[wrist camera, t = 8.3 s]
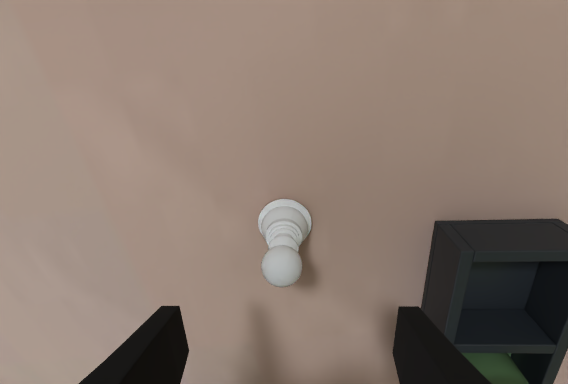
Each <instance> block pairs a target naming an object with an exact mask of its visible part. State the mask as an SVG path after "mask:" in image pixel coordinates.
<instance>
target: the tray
mask: <svg viewBox="0 0 568 384" xmlns="http://www.w3.org/2000/svg"><path fill="white" fill-rule="evenodd" d="M421 310H422V311H423V312H424V313H425V314H426V315H427V316H428V318H429V319H430V320H431V321H432V322H433V323H434V324H435V325H436V326H437V328H438V329H439V330H440V331H441V332H442V333H443V334H444V335H445V336H446V337H447V338H448V339H449V341H450V342H451V343H452V344H453V345H454V346H455V347H456V348H457V349H458V350H459V351H460V352H461V353H508V355H509V356H510V357H511V359H512V360H513V362H514V363H515V364H516V366H517V367H518V369H519V370H520V371H521V373H522V374H523V376H524V377H525V378H526V380H527V381H528V383H529V384H553V383H554V380H555V378H556V375H557V373H558V371H559V368H560V366H561V363H562V361H563V359H564V356H565V354H566V352H567V349H568V225H567V224H565V223H564V222H562V221H561V220H559V219H526V220H467V221H435V226H434V232H433V238H432V245H431V251H430V257H429V263H428V270H427V276H426V282H425V288H424V294H423V301H422V307H421Z"/></svg>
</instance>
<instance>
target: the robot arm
mask: <svg viewBox="0 0 568 384" xmlns="http://www.w3.org/2000/svg"><path fill="white" fill-rule="evenodd" d="M188 353H189V348H188V344H187V339H186V334H185V330H184V325H183V320H182V316H181V311H180V307H179V306H161V307H160V308H159V309H158V310H157V311H156V312H155V313H154V314H153V315H152V316H151V317H150V318H149V319H148V320H147V321H146V322H145V323H143V324H142V325H141V326H140V327H139V328H138V329H137V330H136V331H135V332H134V333H133V334H132V335H131V336H130V337H129V338H128V339H127V340H126V341H125V342H124V343H123V344H122V345H121V346H120V347H119V348H118V349H116V350H115V351H114V352H113V353H112V354H111V355H110V356H109V357H108V358H107V359H106V360H105V361H104V362H103V363H101V364H100V365H99V366H98V367H97V368H96V369H95V370H94V371H92V372H91V373H90V374H89V375H88V376H87V377H86V378H84V379H83V380H82V381H81V382H80V383H79V384H180V382H181V379H182V375H183V372H184V368H185V364H186V361H187V357H188ZM393 356H394V361H395V365H396V370H397V374H398V378H399V382H400V384H492V383H491V382H490V381H489V380H488V379H486V378H485V377H484V376H483V375H482V374H481V373H480V372H479V371H478V370H477V369H476V368H475V367H474V366H473V365H472V363H471V362H470V361H469V360H468V359H467V358H466V357H465V356H464V355H463V354H462V353H461V352H460V351H459V350H458V349H457V348H456V347H455V346H454V345H453V344H452V343H451V342H450V341H449V339H448V338H447V337H446V336H445V335H444V334H443V333H442V332H441V331H440V330H439V329H438V328H437V326H436V325H435V324H434V323H433V322H432V321H431V320H430V319H429V318H428V316H427V315H426V314H425V313H424V312H423V311H422V310H421V309H420V308H419V307H399V309H398V316H397V324H396V331H395V339H394V347H393Z"/></svg>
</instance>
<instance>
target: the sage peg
mask: <svg viewBox="0 0 568 384" xmlns="http://www.w3.org/2000/svg"><path fill="white" fill-rule="evenodd" d="M462 354H463V355H464V356H465V357H466V358H467V359H468V360H469V361H470V362H471V363H472V365H473V366H474V367H475V368H476V369H477V370H478V371H479V372H480V373H481V374H482V375H483V376H484V377H485V378H486V379H488V380H489V381H490V382H491V383H492V384H529V383H528V381H527V380H526V378H525V377H524V376H523V374H522V373H521V371H520V370H519V369H518V367H517V366H516V364H515V363H514V362H513V360H512V359H511V357H510V356H509V355H508V353H462Z"/></svg>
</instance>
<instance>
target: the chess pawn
mask: <svg viewBox="0 0 568 384" xmlns="http://www.w3.org/2000/svg"><path fill="white" fill-rule="evenodd" d="M258 225H259V229H260V232H261V234H262V235H263V237H264V239H265V241H266V242H267V244H268V245H269V246H268V251H267V252H266V253H265V255H264V256H263V259H262V262H261V270H262V274H263V276H264V278H265V279H266V280H267V281H268V282H269V283H270V284H271V285H273V286H276V287H288V286H290V285H292V284H294V283H295V282H296V281H297V280H298V279H299V277H300V275H301V273H302V267H303V266H302V260H301V257H300V255H299V254H298V251H299V248H298V247H299V246H300V244H301V243H302V242H303V241H304V239H305V238H306V237H307V236H308V234H309V232H310V230H311V217H310V214H309V212H308V211H307V209H306V208H305V207H304V206H303V205H301V204H300V203H298V202H296V201H294V200H290V199H279V200H275V201H273V202H271V203H269V204H268V205H266V206H265V207H264V208H263V209H262V211H261V213H260V216H259V220H258Z"/></svg>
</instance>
